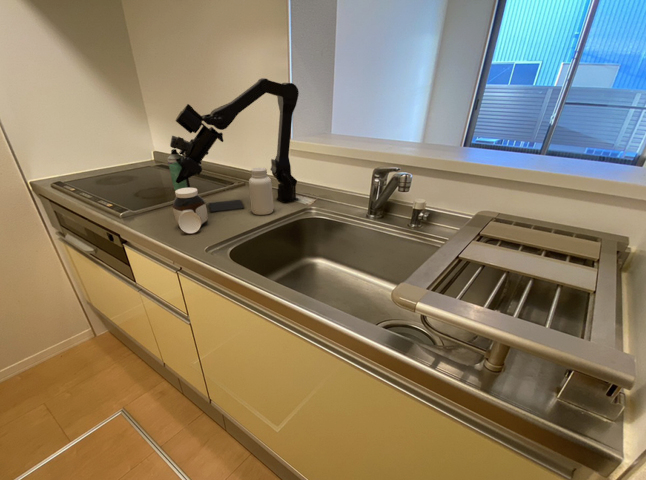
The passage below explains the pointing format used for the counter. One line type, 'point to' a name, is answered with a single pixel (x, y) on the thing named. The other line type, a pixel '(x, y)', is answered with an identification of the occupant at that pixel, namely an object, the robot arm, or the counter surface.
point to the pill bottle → (261, 192)
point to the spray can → (176, 169)
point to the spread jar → (189, 210)
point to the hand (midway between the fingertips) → (176, 180)
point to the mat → (225, 206)
